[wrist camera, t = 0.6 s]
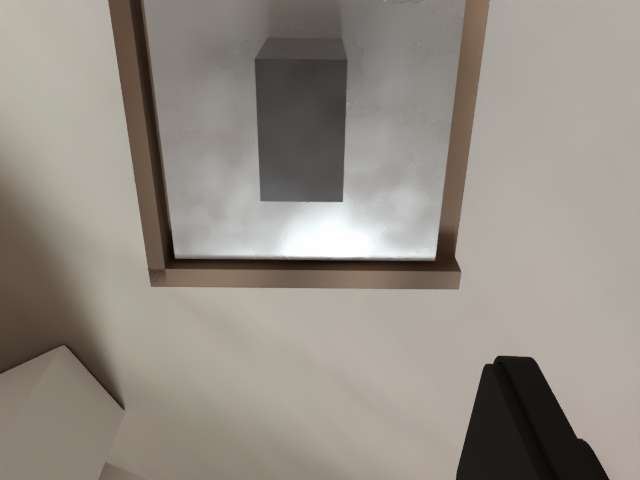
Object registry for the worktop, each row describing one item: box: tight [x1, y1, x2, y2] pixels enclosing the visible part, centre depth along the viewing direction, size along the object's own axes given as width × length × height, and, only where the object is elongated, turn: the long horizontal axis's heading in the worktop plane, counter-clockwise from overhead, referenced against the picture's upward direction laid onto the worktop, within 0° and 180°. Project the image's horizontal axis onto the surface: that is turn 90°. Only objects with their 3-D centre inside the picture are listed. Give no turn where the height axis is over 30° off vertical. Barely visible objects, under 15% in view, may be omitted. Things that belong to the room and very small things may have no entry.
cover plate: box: [144, 0, 466, 261], centre depth 22 cm, size 13×15×6 cm
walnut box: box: [108, 0, 490, 289], centre depth 27 cm, size 15×18×8 cm
